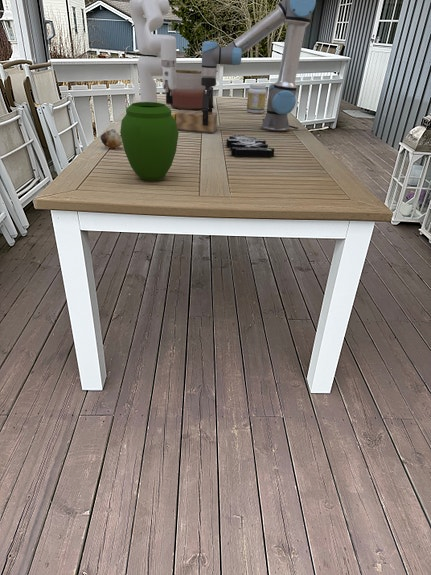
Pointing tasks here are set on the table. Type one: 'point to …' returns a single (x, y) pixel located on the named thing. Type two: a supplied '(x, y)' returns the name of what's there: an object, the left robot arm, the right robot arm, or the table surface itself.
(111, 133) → the seashell
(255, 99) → the supplement tub
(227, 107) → the table surface
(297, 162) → the table surface
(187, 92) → the planter
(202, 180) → the table surface
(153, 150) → the vase
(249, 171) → the table surface
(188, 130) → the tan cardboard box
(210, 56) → the right robot arm
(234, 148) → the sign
